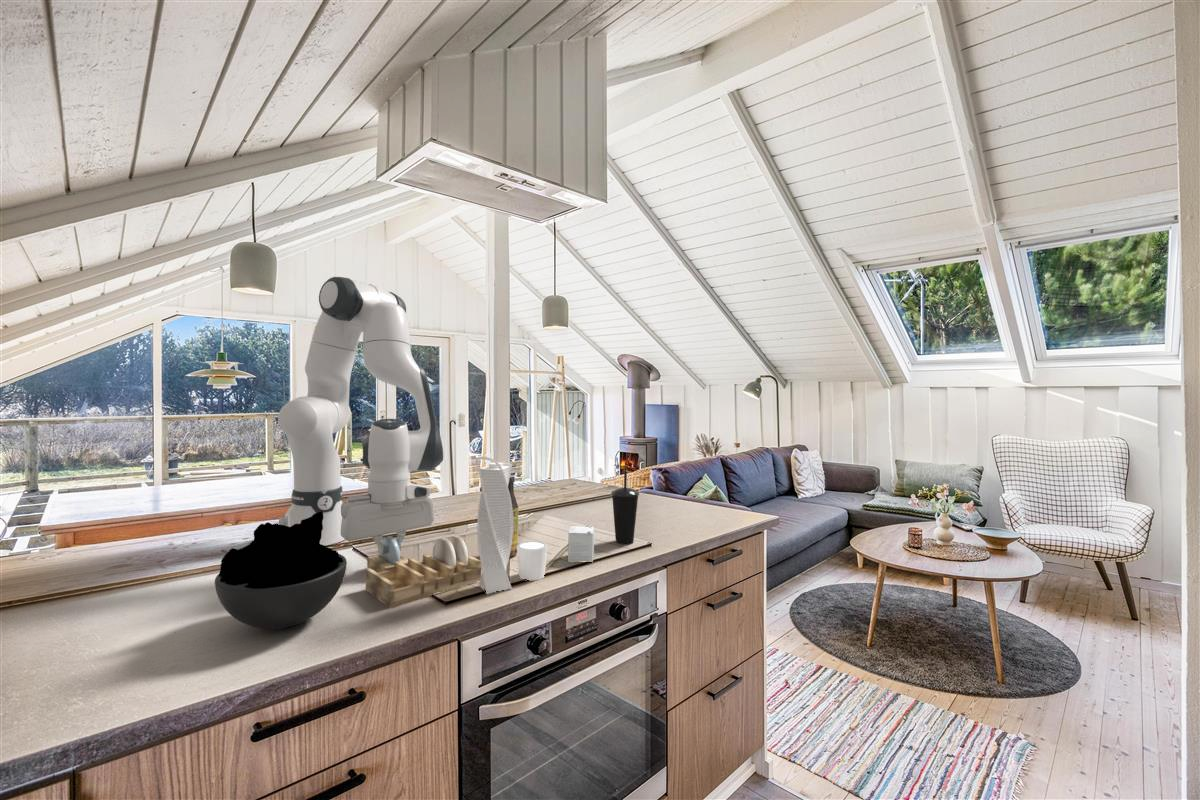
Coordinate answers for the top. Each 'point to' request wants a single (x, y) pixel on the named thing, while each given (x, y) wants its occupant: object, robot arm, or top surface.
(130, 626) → the top surface
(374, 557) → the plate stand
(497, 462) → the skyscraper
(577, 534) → the skincare box
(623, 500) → the drinking cup
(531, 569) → the white cylinder
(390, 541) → the blue plate
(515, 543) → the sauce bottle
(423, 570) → the dish rack
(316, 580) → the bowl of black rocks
